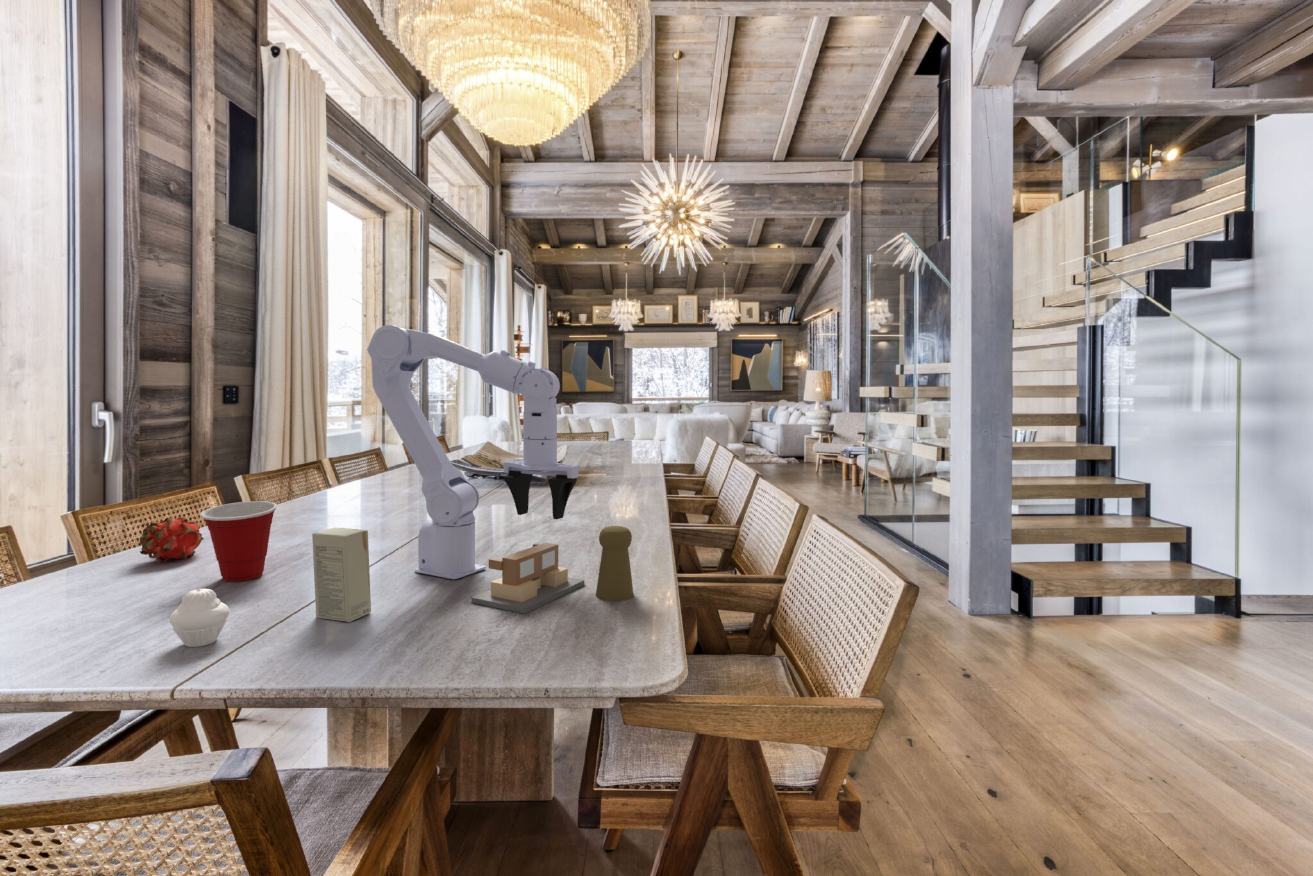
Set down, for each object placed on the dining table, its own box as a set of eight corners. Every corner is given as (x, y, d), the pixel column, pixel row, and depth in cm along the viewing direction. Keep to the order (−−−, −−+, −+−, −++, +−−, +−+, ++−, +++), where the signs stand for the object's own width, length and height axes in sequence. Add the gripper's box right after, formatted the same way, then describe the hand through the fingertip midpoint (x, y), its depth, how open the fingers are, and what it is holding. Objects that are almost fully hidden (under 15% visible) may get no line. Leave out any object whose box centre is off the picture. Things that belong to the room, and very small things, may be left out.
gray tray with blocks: (471, 602, 98) (471, 583, 98) (535, 576, 113) (535, 559, 113) (524, 613, 94) (524, 593, 94) (584, 584, 108) (584, 567, 108)
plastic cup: (185, 585, 104) (182, 511, 103) (237, 566, 115) (235, 499, 114) (247, 589, 103) (244, 514, 102) (293, 570, 114) (291, 502, 113)
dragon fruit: (137, 577, 113) (194, 568, 125) (175, 550, 112) (228, 544, 124) (115, 536, 114) (173, 531, 126) (152, 509, 113) (207, 507, 125)
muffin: (164, 655, 78) (161, 598, 77) (178, 637, 83) (175, 583, 83) (225, 647, 80) (223, 592, 80) (234, 630, 86) (233, 578, 85)
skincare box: (372, 613, 93) (371, 529, 92) (349, 623, 89) (347, 536, 88) (337, 607, 95) (335, 525, 94) (312, 617, 91) (310, 531, 90)
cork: (628, 602, 100) (629, 532, 99) (590, 599, 101) (591, 529, 100) (637, 590, 106) (638, 524, 105) (601, 587, 107) (602, 522, 106)
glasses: (488, 581, 99) (488, 556, 99) (535, 563, 110) (535, 540, 109) (514, 586, 97) (514, 560, 97) (559, 567, 108) (559, 544, 107)
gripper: (491, 438, 111) (492, 515, 112) (561, 442, 105) (561, 524, 106) (517, 435, 118) (517, 509, 119) (585, 439, 111) (584, 517, 112)
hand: (540, 516), depth 113 cm, fingers open, 7 cm apart
